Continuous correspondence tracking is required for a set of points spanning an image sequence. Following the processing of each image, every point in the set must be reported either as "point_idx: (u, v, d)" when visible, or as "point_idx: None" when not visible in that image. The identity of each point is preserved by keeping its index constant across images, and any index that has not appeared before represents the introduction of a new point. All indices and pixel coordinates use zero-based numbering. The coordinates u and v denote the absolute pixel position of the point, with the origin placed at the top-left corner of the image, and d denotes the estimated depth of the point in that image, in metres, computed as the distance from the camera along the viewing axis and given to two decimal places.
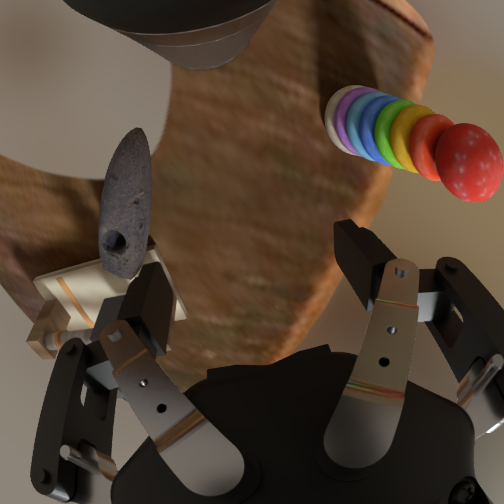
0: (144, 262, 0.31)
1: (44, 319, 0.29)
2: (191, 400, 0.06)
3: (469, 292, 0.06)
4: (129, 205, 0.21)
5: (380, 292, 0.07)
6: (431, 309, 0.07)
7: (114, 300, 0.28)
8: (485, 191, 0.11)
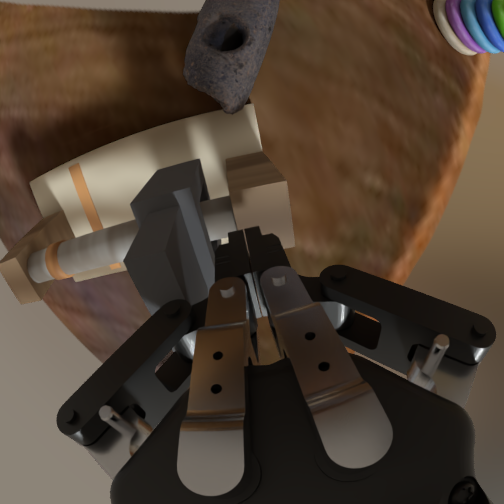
0: (232, 125, 0.19)
1: (35, 233, 0.17)
2: (252, 394, 0.05)
3: (372, 293, 0.07)
4: None
5: (271, 308, 0.08)
6: None
7: (180, 165, 0.16)
8: None
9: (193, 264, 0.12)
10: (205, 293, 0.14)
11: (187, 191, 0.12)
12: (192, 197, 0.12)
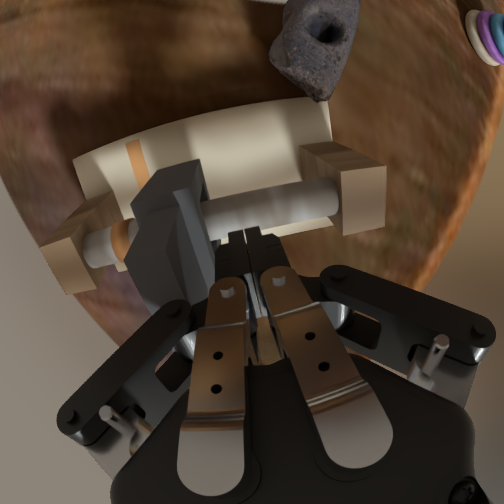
0: (307, 113, 0.19)
1: (85, 212, 0.17)
2: (252, 394, 0.05)
3: (372, 293, 0.07)
4: None
5: (271, 307, 0.08)
6: None
7: (180, 165, 0.16)
8: None
9: (193, 264, 0.12)
10: (205, 293, 0.14)
11: (187, 191, 0.12)
12: (192, 197, 0.12)
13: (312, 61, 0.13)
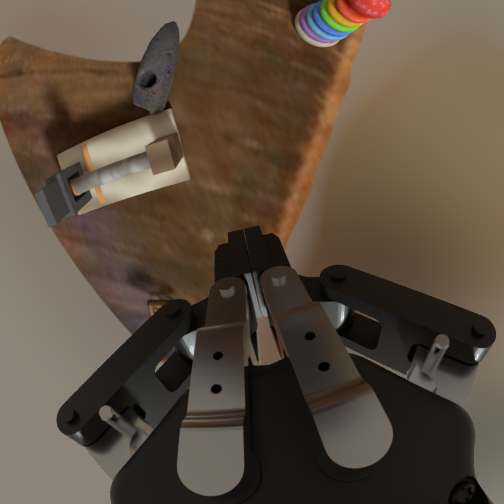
0: (161, 120, 0.36)
1: None
2: (252, 394, 0.05)
3: (372, 293, 0.07)
4: (164, 54, 0.27)
5: (271, 308, 0.08)
6: None
7: (71, 165, 0.33)
8: (374, 0, 0.15)
9: (60, 198, 0.29)
10: (66, 211, 0.30)
11: (59, 174, 0.28)
12: (60, 176, 0.28)
13: (140, 99, 0.29)
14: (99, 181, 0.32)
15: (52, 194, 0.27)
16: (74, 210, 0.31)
